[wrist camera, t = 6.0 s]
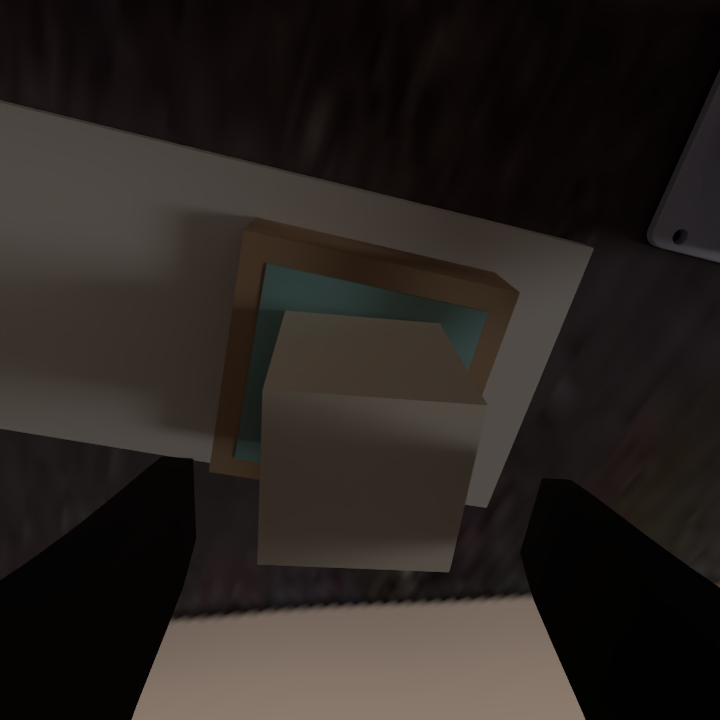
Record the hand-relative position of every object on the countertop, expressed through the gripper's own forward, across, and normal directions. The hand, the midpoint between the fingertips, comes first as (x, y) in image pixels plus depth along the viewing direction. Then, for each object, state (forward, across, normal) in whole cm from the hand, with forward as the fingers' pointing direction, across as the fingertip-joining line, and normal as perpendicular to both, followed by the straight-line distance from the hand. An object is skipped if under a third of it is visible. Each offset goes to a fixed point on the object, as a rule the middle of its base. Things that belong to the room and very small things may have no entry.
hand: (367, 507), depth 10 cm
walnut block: (+8, 0, 0) cm, 8 cm away
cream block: (+6, 0, 0) cm, 6 cm away
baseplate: (+9, +3, 0) cm, 10 cm away
